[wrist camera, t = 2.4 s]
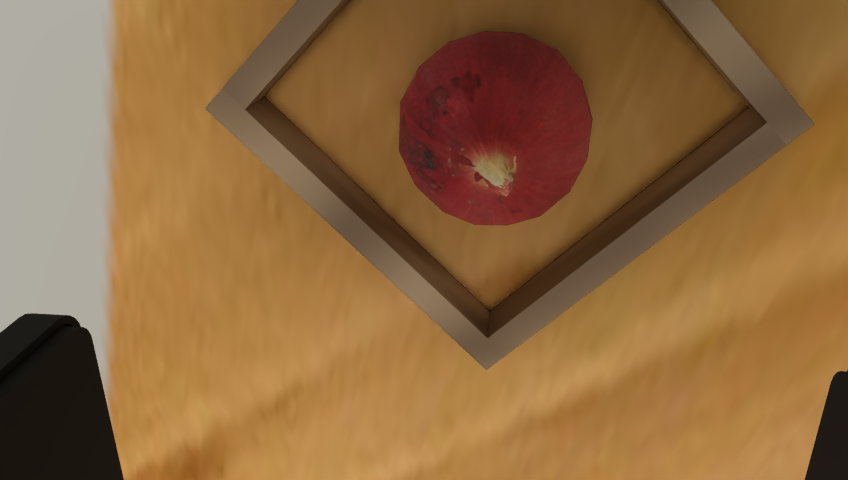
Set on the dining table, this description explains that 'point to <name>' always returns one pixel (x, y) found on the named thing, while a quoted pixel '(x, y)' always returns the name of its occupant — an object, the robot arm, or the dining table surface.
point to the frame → (580, 265)
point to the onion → (495, 128)
